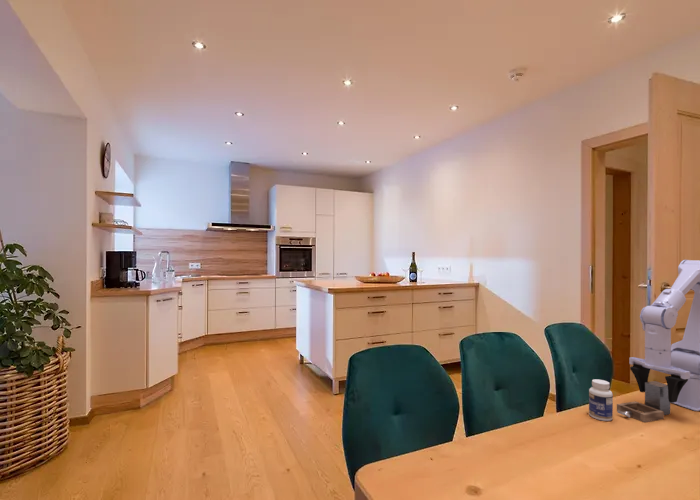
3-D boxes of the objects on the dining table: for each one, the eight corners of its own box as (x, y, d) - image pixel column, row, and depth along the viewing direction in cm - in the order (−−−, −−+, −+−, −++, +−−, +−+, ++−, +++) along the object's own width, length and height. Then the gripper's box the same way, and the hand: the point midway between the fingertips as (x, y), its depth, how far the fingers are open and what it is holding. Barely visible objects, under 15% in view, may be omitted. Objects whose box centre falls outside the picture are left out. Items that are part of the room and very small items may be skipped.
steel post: (654, 408, 107) (654, 381, 108) (670, 414, 104) (670, 385, 104) (644, 410, 106) (644, 382, 106) (660, 416, 102) (660, 387, 103)
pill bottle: (584, 415, 103) (584, 379, 103) (596, 411, 105) (596, 377, 105) (604, 423, 98) (604, 386, 98) (617, 419, 100) (617, 383, 100)
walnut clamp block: (635, 408, 108) (635, 401, 108) (663, 419, 100) (663, 411, 100) (610, 412, 105) (610, 405, 105) (637, 423, 97) (637, 416, 98)
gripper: (621, 343, 111) (621, 388, 111) (677, 356, 97) (677, 408, 97) (638, 342, 113) (638, 386, 113) (695, 354, 99) (695, 405, 99)
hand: (657, 396), depth 105 cm, fingers open, 7 cm apart
